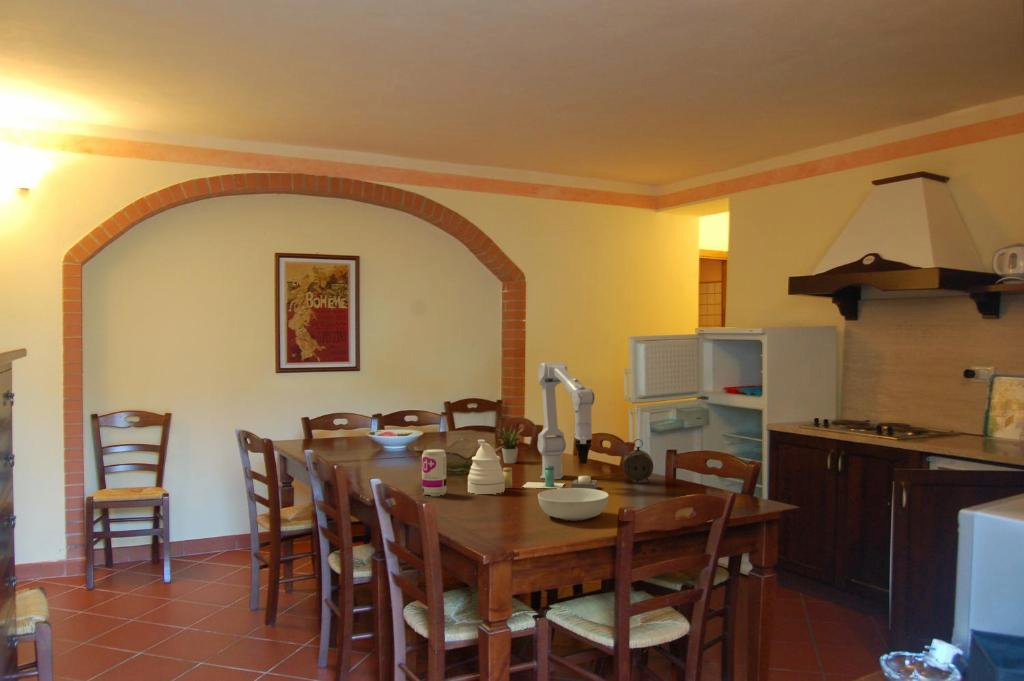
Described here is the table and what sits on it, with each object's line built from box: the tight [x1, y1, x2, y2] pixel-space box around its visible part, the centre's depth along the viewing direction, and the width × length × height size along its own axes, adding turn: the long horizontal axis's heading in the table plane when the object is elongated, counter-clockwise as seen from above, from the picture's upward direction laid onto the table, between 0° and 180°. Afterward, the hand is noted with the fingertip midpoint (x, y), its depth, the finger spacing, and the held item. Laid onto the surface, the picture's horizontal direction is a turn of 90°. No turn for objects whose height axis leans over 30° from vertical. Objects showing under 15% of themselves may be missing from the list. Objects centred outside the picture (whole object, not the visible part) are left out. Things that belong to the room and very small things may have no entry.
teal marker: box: [544, 466, 555, 487], centre depth 267 cm, size 3×3×7 cm
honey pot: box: [467, 439, 506, 495], centre depth 261 cm, size 13×13×18 cm
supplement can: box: [421, 448, 447, 497], centre depth 255 cm, size 8×8×15 cm
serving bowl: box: [537, 487, 610, 522], centre depth 221 cm, size 21×21×7 cm
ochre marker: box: [502, 467, 513, 489], centre depth 266 cm, size 3×3×7 cm
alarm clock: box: [622, 438, 654, 485], centre depth 274 cm, size 11×5×16 cm, turn 84°
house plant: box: [495, 425, 524, 464], centre depth 324 cm, size 14×14×16 cm
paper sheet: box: [521, 481, 566, 489], centre depth 269 cm, size 10×14×1 cm
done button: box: [577, 475, 592, 483], centre depth 264 cm, size 4×4×3 cm
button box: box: [571, 479, 598, 490], centre depth 264 cm, size 8×8×2 cm
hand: (583, 461), depth 264 cm, fingers open, 7 cm apart
